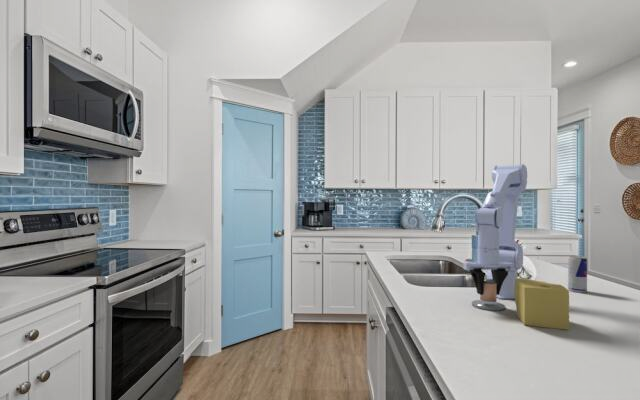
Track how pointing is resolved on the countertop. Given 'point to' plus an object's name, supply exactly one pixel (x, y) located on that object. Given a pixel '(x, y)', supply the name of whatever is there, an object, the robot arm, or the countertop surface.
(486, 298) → the spice jar
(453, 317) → the countertop surface
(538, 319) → the cheese
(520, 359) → the countertop surface
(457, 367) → the countertop surface
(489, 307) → the coaster
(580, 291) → the energy drink
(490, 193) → the robot arm
